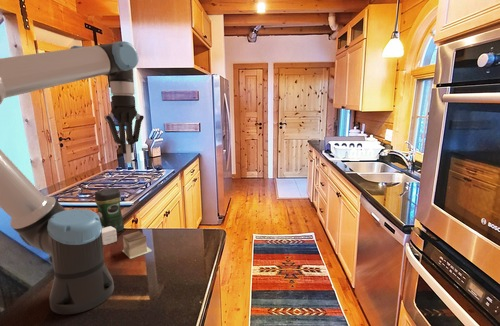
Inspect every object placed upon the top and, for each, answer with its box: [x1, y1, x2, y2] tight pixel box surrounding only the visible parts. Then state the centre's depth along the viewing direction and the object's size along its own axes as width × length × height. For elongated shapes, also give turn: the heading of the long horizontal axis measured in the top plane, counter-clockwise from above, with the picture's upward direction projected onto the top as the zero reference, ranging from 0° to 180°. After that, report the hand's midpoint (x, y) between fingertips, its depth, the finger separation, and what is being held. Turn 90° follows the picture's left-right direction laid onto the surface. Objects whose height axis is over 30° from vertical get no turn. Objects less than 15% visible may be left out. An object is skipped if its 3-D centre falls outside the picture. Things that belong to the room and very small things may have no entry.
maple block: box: [122, 230, 148, 257], centre depth 101 cm, size 6×6×6 cm
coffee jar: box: [94, 187, 125, 233], centre depth 117 cm, size 10×8×19 cm
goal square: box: [121, 246, 153, 260], centre depth 102 cm, size 8×8×1 cm
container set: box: [102, 226, 118, 246], centre depth 103 cm, size 20×5×6 cm, turn 138°
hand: (128, 162), depth 100 cm, fingers closed
